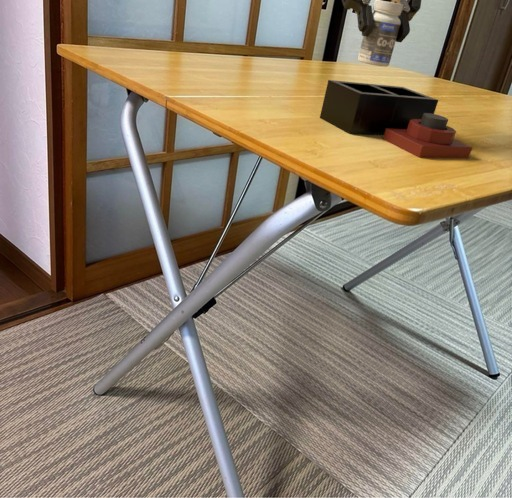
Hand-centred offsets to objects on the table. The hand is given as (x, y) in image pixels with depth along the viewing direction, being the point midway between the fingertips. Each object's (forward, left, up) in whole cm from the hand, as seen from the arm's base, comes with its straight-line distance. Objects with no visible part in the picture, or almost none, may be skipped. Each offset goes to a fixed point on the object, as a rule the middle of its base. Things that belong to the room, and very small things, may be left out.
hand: (385, 35), depth 73 cm
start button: (-6, +8, -11) cm, 15 cm away
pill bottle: (0, -1, -4) cm, 5 cm away
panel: (-6, +8, -14) cm, 17 cm away
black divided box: (-4, -2, -14) cm, 14 cm away
